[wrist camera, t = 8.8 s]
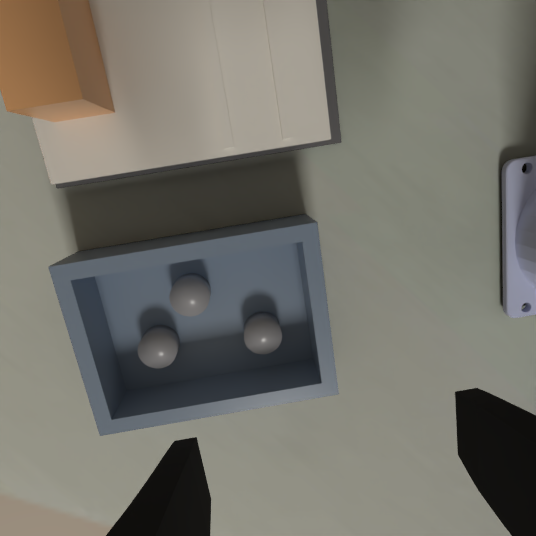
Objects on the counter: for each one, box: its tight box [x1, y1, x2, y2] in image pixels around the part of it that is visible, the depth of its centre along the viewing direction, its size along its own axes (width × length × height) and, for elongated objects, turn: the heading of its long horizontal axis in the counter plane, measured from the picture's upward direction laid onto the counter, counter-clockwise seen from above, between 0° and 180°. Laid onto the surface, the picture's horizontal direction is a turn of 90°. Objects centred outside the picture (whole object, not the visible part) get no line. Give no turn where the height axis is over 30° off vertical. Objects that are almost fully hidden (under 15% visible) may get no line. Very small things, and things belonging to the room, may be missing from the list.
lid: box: [0, 0, 331, 184], centre depth 15 cm, size 12×9×5 cm
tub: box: [49, 214, 339, 436], centre depth 19 cm, size 11×8×3 cm
